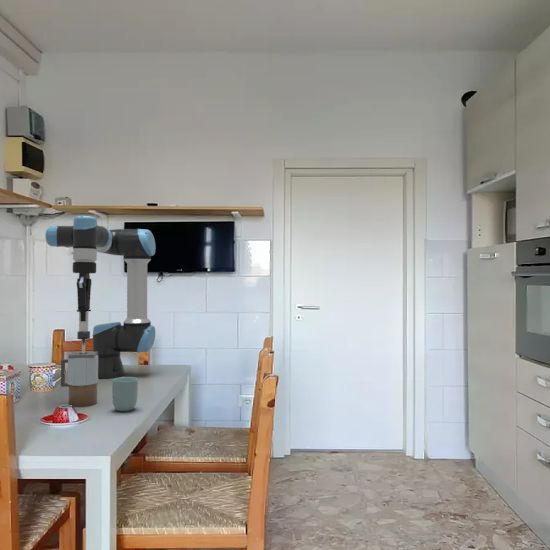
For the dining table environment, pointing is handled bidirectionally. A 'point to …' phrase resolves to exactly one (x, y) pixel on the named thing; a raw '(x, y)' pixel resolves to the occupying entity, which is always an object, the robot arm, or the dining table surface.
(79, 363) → the carafe
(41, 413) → the dining table surface
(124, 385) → the cup
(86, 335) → the plunger
